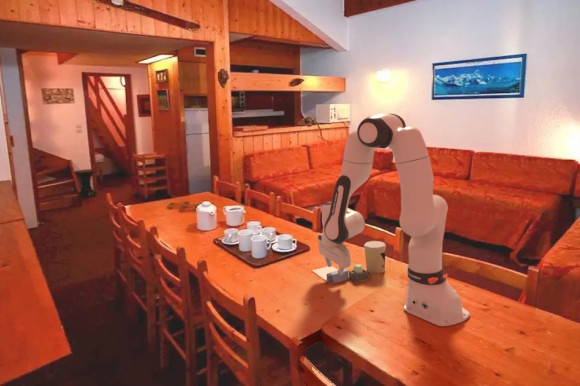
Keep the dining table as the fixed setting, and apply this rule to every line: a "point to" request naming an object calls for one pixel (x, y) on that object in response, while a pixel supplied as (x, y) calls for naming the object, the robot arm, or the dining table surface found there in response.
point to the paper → (324, 271)
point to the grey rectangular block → (337, 276)
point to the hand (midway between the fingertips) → (334, 270)
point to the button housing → (358, 276)
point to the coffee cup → (375, 256)
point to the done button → (358, 269)
